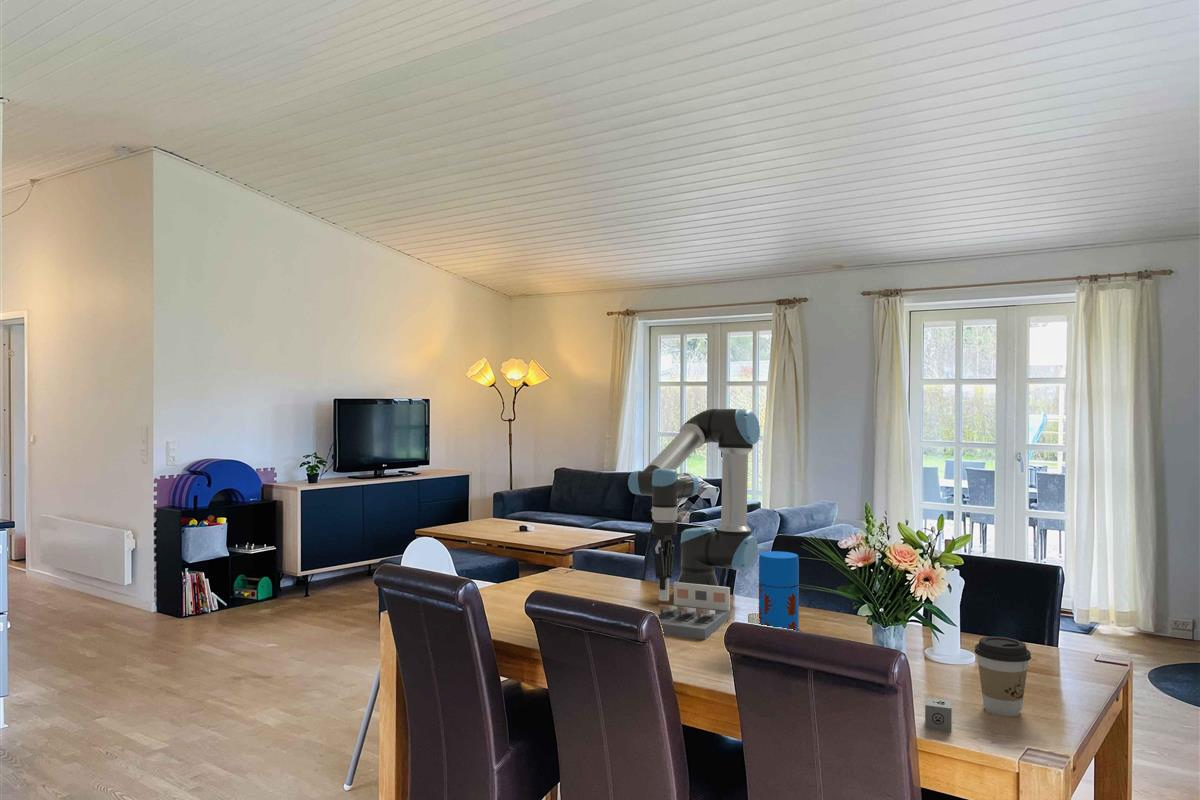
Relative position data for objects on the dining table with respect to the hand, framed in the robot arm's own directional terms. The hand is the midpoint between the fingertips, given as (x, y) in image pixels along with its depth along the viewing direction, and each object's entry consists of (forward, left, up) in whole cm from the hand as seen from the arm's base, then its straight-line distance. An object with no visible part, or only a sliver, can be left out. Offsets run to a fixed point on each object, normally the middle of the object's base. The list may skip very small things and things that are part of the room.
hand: (663, 600), depth 252 cm
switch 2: (-3, +6, -3) cm, 8 cm away
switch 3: (-3, +12, -3) cm, 13 cm away
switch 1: (-3, 0, -3) cm, 4 cm away
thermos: (+3, +35, -9) cm, 36 cm away
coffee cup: (+31, +91, -9) cm, 96 cm away
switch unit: (-5, +6, -8) cm, 12 cm away
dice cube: (+46, +79, -9) cm, 92 cm away
